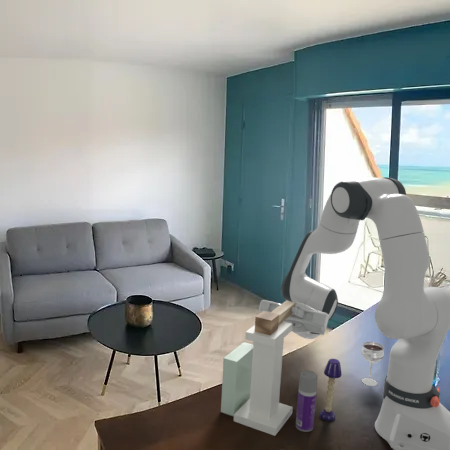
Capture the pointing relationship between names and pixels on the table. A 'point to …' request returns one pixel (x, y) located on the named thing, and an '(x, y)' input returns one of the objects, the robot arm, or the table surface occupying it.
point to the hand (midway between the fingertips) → (285, 308)
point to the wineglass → (372, 358)
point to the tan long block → (273, 318)
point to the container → (306, 401)
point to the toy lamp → (330, 388)
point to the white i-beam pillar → (266, 382)
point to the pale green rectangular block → (236, 378)
